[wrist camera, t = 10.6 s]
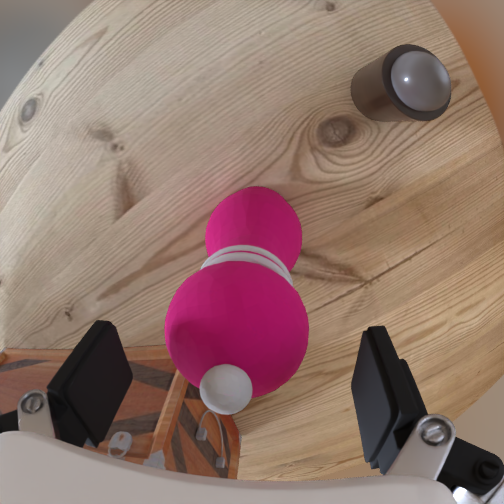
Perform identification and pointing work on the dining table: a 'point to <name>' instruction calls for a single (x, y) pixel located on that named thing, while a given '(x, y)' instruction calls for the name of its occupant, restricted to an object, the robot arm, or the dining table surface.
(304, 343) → the pepper mill
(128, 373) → the robot arm
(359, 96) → the salt shaker
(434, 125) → the dining table surface
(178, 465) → the wooden box
